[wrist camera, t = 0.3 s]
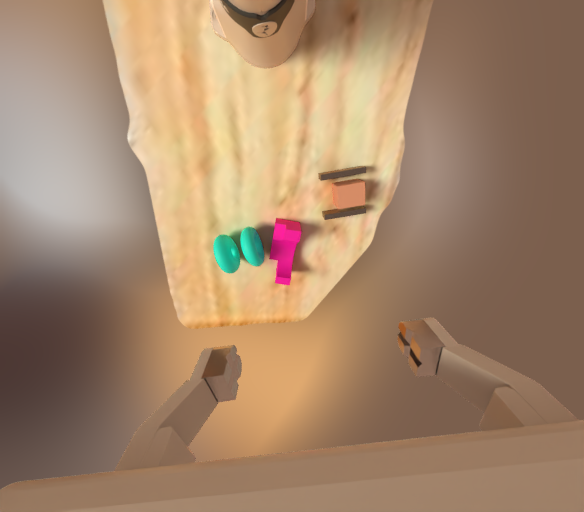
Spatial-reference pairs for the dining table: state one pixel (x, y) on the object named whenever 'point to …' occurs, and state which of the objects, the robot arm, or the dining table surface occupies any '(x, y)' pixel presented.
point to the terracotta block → (348, 193)
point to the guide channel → (345, 211)
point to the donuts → (229, 252)
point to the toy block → (284, 248)
